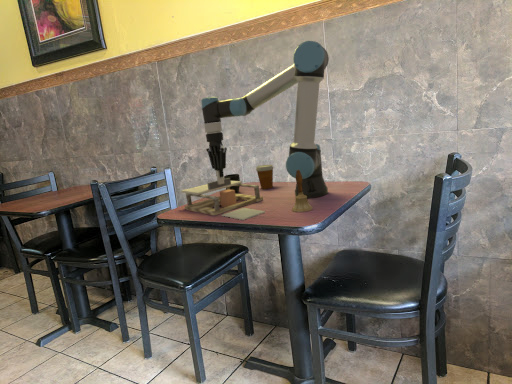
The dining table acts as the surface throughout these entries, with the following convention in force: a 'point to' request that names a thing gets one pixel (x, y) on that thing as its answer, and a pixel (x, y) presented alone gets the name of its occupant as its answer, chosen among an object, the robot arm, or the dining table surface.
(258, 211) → the pad
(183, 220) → the dining table surface
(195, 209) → the open wooden rack
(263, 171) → the disposable coffee cup
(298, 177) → the hand bell
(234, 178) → the mug
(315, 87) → the robot arm
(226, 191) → the block
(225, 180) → the sliding lid
